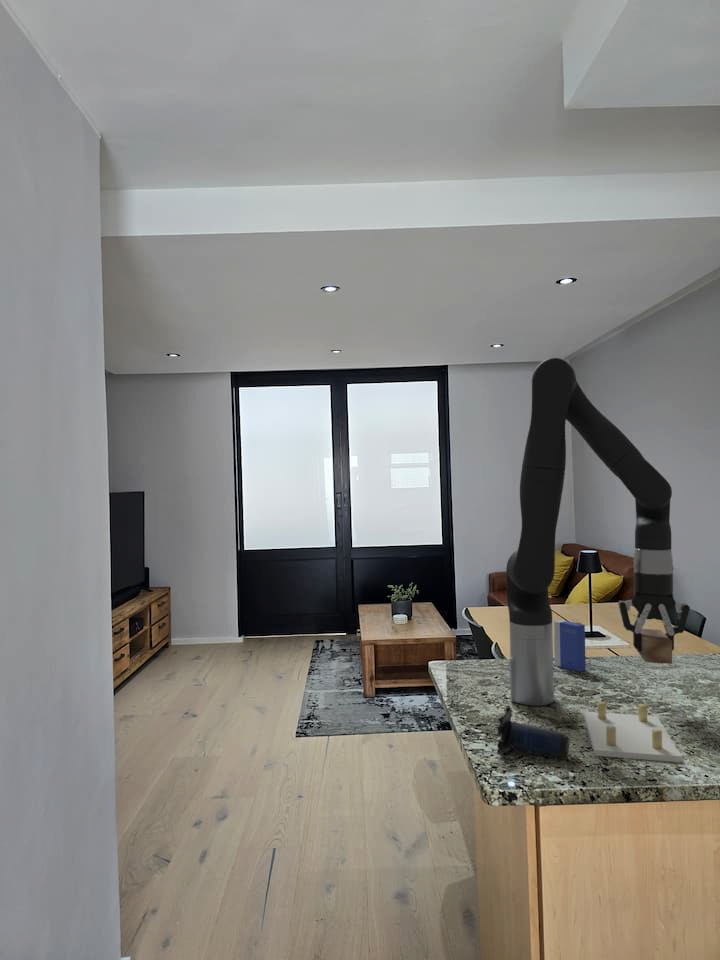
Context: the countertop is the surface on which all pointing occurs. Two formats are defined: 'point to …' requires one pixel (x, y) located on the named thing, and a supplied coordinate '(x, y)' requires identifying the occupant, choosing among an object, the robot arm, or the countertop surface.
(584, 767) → the countertop surface
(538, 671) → the robot arm
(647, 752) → the board
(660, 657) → the brown rectangular block
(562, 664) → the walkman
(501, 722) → the beverage can
